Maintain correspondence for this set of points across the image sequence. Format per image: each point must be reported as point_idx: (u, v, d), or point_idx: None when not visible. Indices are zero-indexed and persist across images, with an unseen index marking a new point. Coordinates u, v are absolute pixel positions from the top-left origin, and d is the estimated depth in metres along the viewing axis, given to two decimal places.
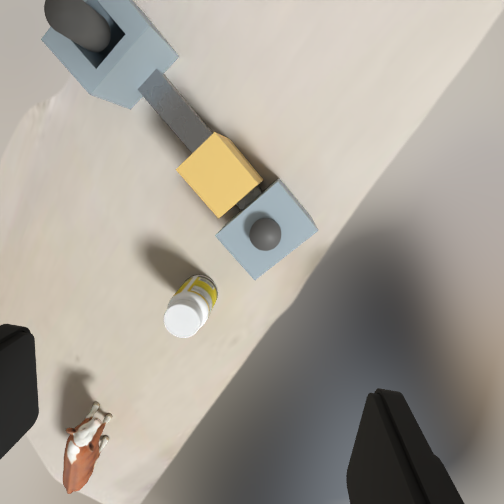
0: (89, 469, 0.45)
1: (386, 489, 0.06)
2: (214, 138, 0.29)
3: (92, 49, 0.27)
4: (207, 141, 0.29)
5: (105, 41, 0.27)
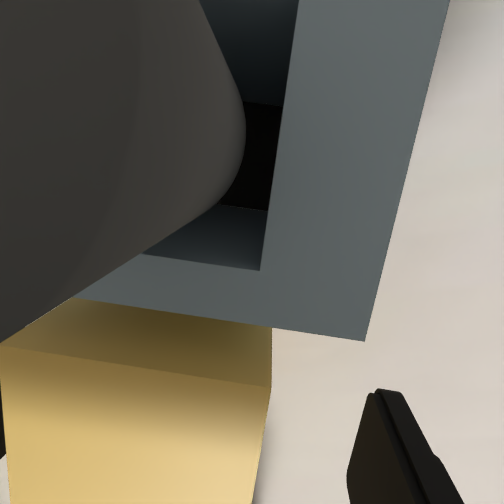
0: None
1: (386, 489, 0.06)
2: (246, 403, 0.06)
3: None
4: (212, 386, 0.06)
5: None
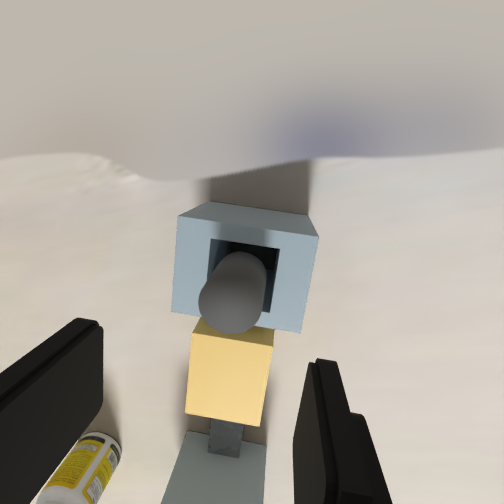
0: None
1: (310, 439, 0.07)
2: (265, 351, 0.19)
3: None
4: (255, 345, 0.19)
5: None
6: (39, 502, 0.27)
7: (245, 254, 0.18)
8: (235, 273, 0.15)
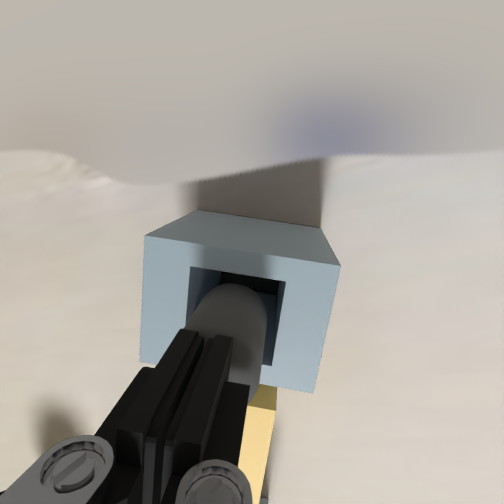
0: None
1: None
2: (266, 416, 0.14)
3: None
4: (252, 409, 0.14)
5: None
6: None
7: (238, 287, 0.13)
8: (218, 328, 0.10)
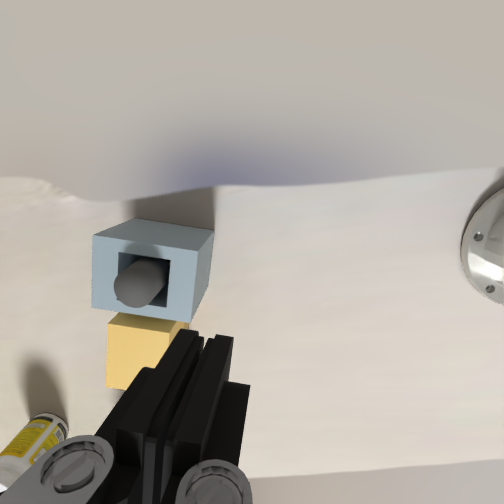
0: None
1: None
2: (164, 336, 0.26)
3: None
4: (156, 332, 0.26)
5: None
6: None
7: None
8: (136, 268, 0.23)
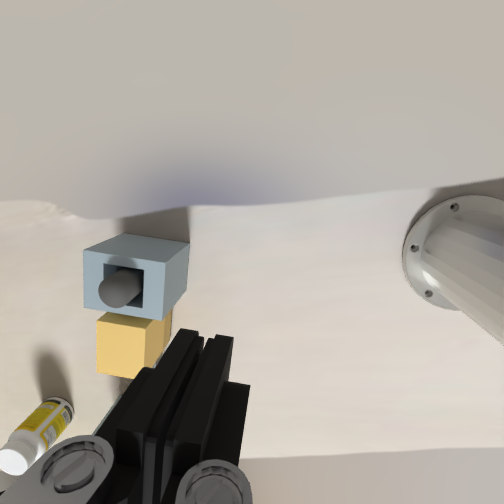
0: None
1: None
2: (141, 331, 0.32)
3: None
4: (135, 328, 0.31)
5: None
6: (9, 440, 0.39)
7: None
8: (115, 277, 0.29)
